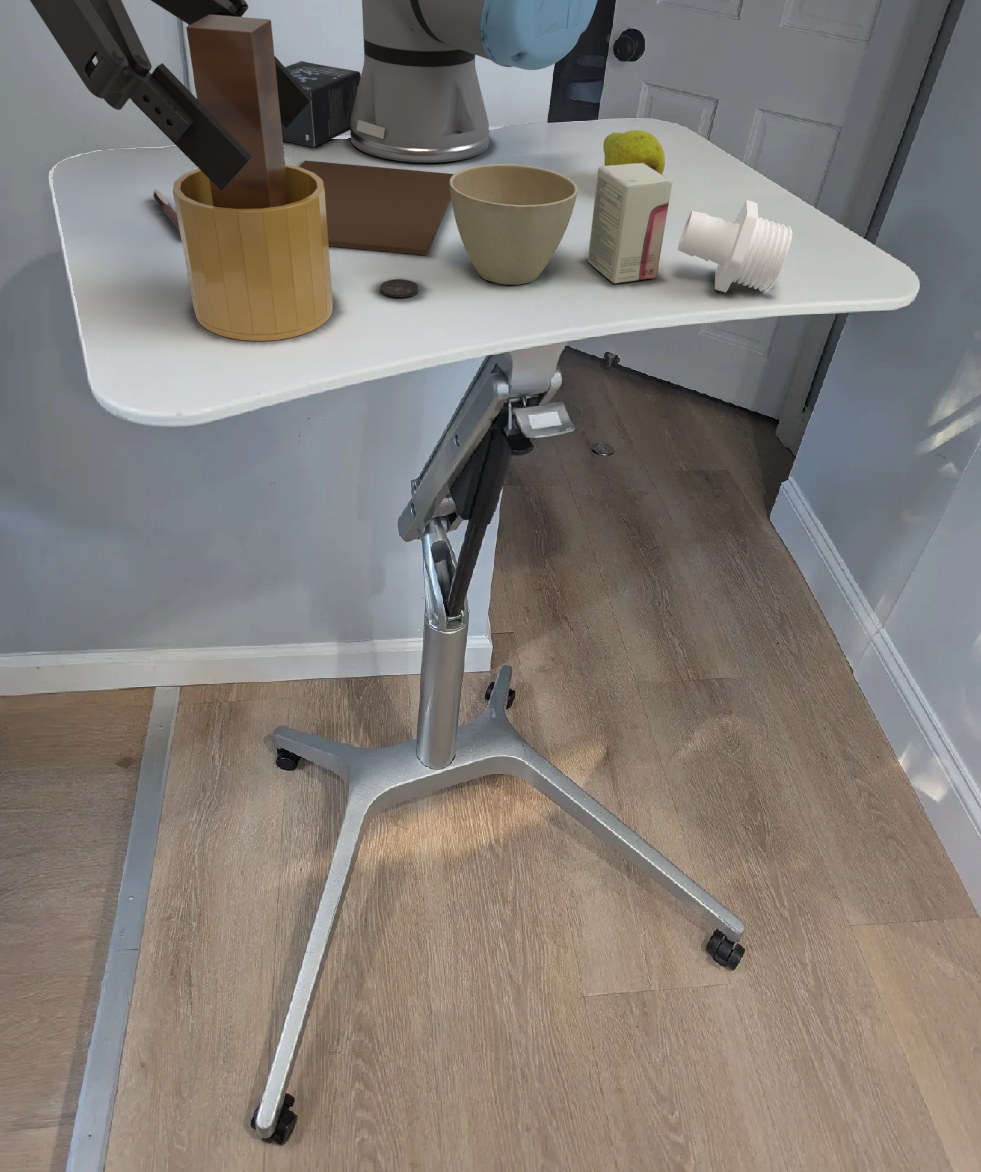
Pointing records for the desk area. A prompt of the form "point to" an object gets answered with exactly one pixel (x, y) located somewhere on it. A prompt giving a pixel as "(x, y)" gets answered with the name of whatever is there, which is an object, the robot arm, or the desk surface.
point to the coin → (399, 288)
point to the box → (322, 103)
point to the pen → (166, 207)
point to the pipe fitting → (738, 247)
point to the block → (242, 104)
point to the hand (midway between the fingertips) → (271, 142)
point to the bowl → (511, 218)
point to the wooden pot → (257, 259)
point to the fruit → (634, 150)
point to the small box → (628, 221)
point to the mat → (382, 206)
